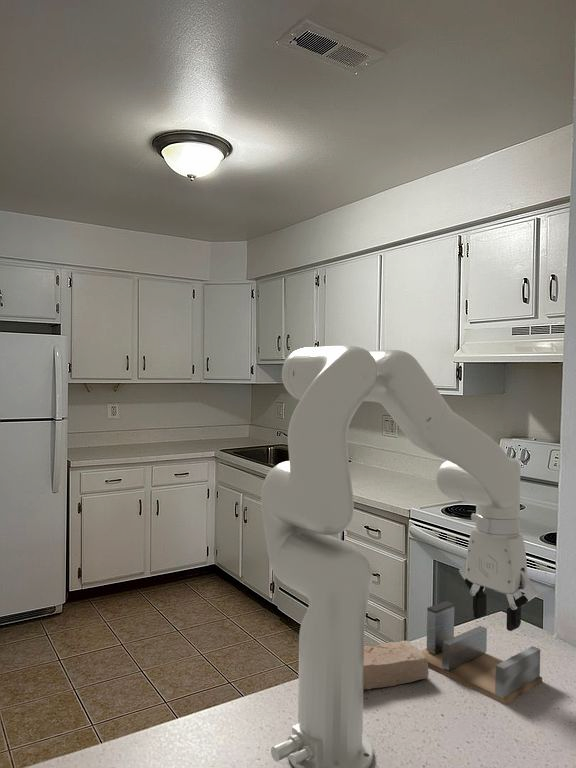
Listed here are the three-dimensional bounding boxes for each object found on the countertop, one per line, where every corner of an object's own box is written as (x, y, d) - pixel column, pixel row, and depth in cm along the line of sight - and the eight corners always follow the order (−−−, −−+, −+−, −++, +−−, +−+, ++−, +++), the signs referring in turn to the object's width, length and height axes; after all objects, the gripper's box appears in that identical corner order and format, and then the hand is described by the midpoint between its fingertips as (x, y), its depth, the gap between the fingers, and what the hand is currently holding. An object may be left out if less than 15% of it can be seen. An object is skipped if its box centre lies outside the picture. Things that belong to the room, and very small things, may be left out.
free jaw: (448, 670, 110) (449, 624, 110) (416, 654, 116) (417, 611, 115) (486, 652, 117) (487, 609, 117) (454, 638, 123) (455, 597, 123)
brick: (408, 660, 116) (408, 635, 116) (430, 680, 108) (430, 654, 108) (328, 672, 111) (328, 647, 111) (346, 695, 103) (346, 668, 103)
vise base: (505, 705, 101) (506, 669, 101) (412, 659, 116) (413, 629, 116) (542, 682, 108) (542, 650, 108) (450, 642, 124) (450, 614, 124)
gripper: (445, 518, 113) (444, 612, 114) (531, 539, 100) (529, 645, 100) (469, 512, 118) (467, 602, 118) (553, 531, 104) (552, 633, 105)
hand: (496, 621), depth 109 cm, fingers open, 6 cm apart
